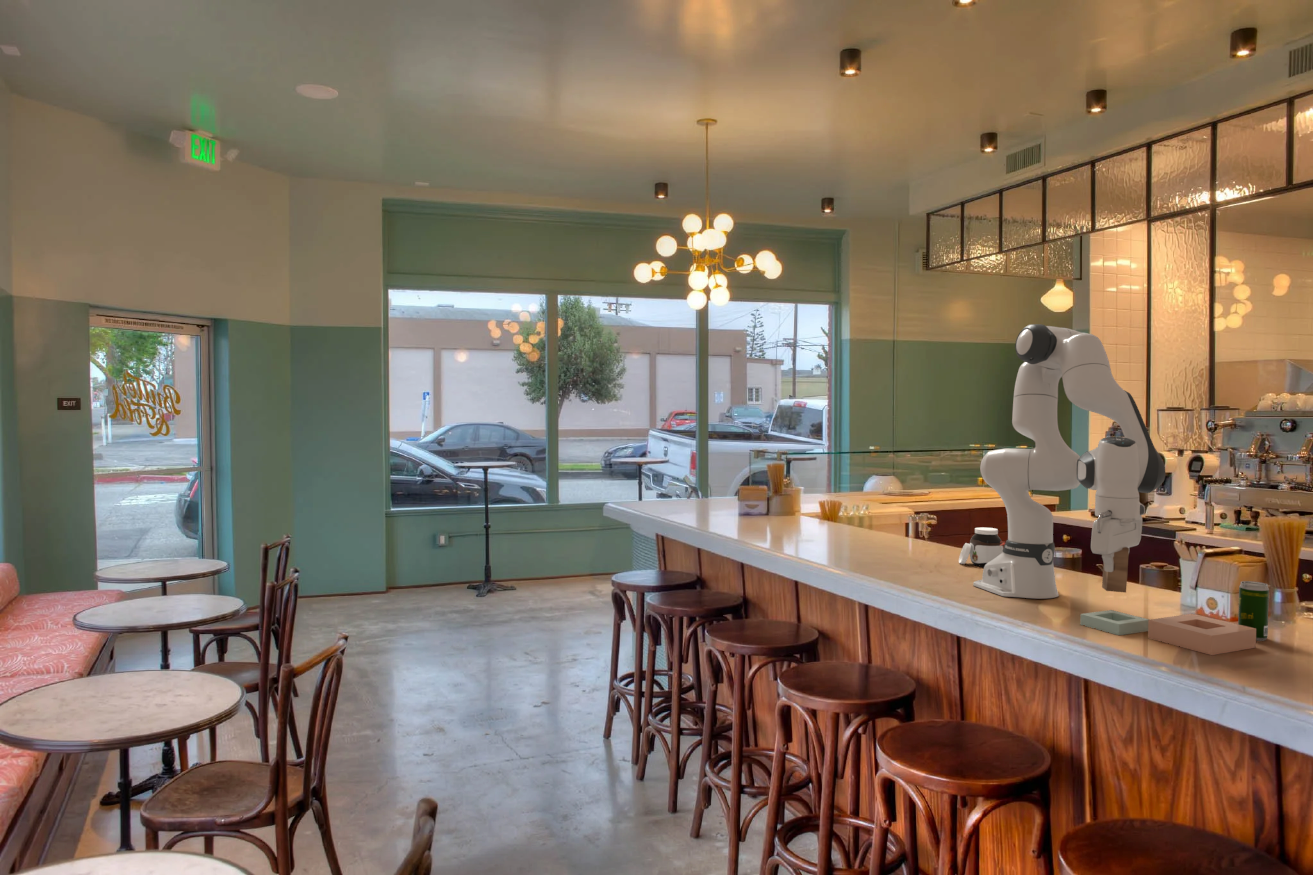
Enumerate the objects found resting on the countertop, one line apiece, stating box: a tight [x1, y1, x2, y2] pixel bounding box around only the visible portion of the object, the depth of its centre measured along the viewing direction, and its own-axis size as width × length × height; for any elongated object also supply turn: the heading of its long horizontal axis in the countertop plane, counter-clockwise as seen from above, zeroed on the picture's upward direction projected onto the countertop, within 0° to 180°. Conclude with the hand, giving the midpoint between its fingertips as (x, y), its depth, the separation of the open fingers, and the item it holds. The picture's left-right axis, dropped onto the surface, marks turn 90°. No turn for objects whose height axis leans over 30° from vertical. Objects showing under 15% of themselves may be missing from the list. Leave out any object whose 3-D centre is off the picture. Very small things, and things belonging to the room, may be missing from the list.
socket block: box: [1147, 613, 1257, 656], centre depth 184 cm, size 14×14×4 cm
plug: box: [1101, 547, 1130, 594], centre depth 196 cm, size 4×4×10 cm
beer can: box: [1237, 580, 1270, 642], centre depth 187 cm, size 5×5×12 cm
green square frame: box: [1079, 609, 1151, 636], centre depth 196 cm, size 10×10×2 cm
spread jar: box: [958, 526, 1004, 568], centre depth 272 cm, size 12×11×12 cm
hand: (1115, 569), depth 196 cm, fingers closed on plug, 6 cm apart
